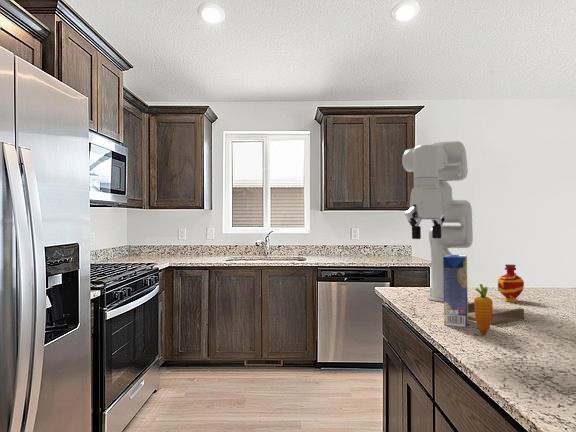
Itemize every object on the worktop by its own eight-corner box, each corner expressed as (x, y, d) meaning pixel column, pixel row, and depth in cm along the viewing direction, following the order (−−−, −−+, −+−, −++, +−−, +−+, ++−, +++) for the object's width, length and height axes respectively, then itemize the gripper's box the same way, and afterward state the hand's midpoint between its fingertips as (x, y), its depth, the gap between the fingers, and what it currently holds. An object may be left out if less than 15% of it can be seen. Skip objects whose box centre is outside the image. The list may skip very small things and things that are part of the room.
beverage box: (467, 319, 149) (466, 255, 150) (467, 326, 139) (466, 257, 139) (446, 318, 152) (445, 254, 152) (444, 325, 142) (443, 257, 142)
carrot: (491, 339, 125) (491, 286, 125) (473, 336, 127) (472, 285, 128) (494, 335, 129) (493, 284, 129) (476, 332, 132) (475, 282, 132)
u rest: (450, 315, 156) (450, 305, 156) (481, 310, 164) (481, 301, 164) (492, 324, 141) (492, 314, 141) (524, 319, 149) (523, 309, 149)
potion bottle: (528, 303, 177) (527, 266, 178) (501, 302, 180) (500, 265, 180) (520, 298, 188) (519, 263, 188) (494, 298, 190) (493, 263, 190)
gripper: (436, 185, 148) (437, 237, 147) (397, 184, 139) (397, 239, 139) (454, 184, 141) (455, 238, 141) (414, 182, 133) (414, 239, 132)
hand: (426, 238), depth 140 cm, fingers open, 8 cm apart
